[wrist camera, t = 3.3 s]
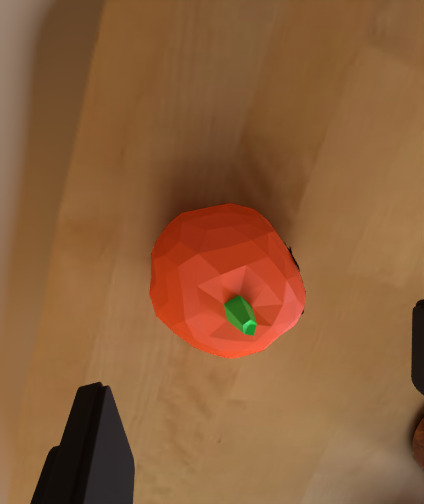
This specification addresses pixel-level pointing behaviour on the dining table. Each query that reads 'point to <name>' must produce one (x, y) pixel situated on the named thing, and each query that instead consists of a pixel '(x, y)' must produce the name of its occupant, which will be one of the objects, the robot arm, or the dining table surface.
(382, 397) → the dining table surface
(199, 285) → the pumpkin
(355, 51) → the dining table surface
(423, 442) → the pretzel
